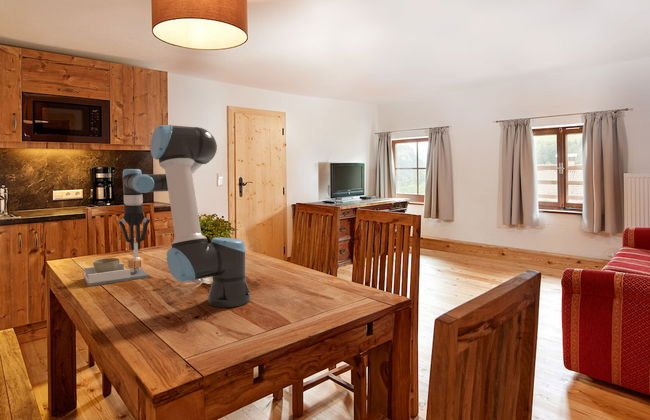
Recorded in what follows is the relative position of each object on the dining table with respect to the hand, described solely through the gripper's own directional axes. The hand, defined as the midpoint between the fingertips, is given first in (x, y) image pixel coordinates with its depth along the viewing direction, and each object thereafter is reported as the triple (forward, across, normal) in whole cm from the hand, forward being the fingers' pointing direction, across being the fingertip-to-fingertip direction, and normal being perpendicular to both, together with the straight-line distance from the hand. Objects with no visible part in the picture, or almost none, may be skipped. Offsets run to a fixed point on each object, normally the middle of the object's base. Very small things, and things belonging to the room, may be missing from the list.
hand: (135, 256), depth 181 cm
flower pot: (+7, +12, 0) cm, 14 cm away
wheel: (+4, 0, 0) cm, 4 cm away
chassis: (+8, +8, 0) cm, 12 cm away
